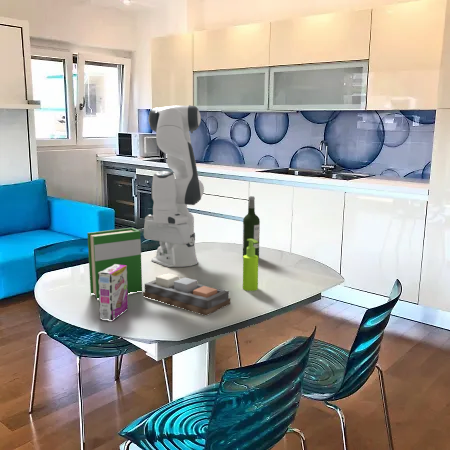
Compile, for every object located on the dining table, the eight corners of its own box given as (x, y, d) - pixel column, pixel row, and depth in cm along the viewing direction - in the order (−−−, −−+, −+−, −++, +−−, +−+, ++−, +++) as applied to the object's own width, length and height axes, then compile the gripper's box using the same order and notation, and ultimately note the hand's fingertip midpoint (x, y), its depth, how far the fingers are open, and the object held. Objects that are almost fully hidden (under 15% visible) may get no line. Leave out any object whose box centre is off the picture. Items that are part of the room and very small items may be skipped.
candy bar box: (112, 322, 158) (110, 273, 155) (99, 320, 160) (96, 272, 156) (129, 310, 169) (127, 264, 165) (116, 308, 170) (114, 263, 167)
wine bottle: (259, 260, 231) (260, 197, 225) (242, 260, 232) (243, 197, 226) (258, 256, 239) (259, 195, 233) (242, 256, 239) (243, 195, 233)
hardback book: (97, 301, 177) (94, 236, 173) (90, 295, 184) (87, 232, 179) (142, 292, 187) (140, 231, 182) (134, 286, 193) (132, 227, 188)
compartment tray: (142, 297, 181) (142, 284, 180) (168, 287, 192) (168, 275, 191) (206, 315, 164) (206, 301, 163) (230, 303, 175) (230, 290, 174)
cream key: (156, 285, 182) (155, 276, 181) (167, 281, 187) (166, 273, 186) (167, 289, 178) (167, 279, 178) (178, 284, 183) (178, 275, 182)
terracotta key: (193, 299, 172) (193, 290, 171) (203, 295, 176) (203, 286, 176) (206, 303, 168) (206, 293, 168) (217, 298, 173) (217, 289, 172)
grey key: (174, 290, 177) (173, 281, 176) (184, 286, 181) (184, 277, 181) (186, 294, 173) (186, 284, 172) (197, 289, 178) (197, 280, 177)
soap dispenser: (248, 292, 187) (249, 241, 183) (240, 287, 193) (240, 238, 189) (262, 290, 189) (262, 240, 185) (252, 285, 195) (253, 236, 191)
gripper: (138, 215, 181) (140, 251, 183) (180, 220, 169) (181, 259, 171) (151, 212, 186) (152, 248, 188) (192, 217, 174) (193, 255, 176)
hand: (166, 253), depth 180 cm, fingers closed
